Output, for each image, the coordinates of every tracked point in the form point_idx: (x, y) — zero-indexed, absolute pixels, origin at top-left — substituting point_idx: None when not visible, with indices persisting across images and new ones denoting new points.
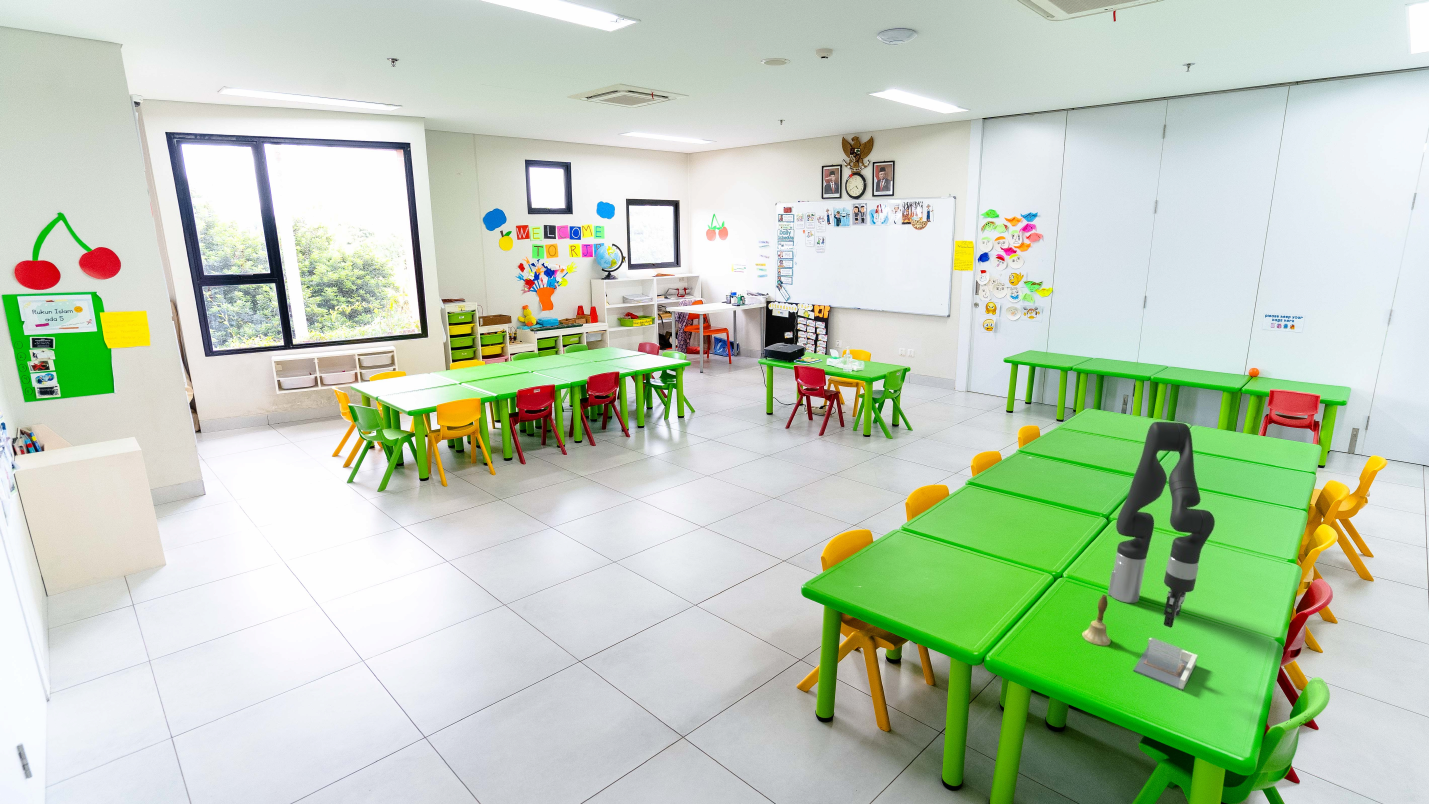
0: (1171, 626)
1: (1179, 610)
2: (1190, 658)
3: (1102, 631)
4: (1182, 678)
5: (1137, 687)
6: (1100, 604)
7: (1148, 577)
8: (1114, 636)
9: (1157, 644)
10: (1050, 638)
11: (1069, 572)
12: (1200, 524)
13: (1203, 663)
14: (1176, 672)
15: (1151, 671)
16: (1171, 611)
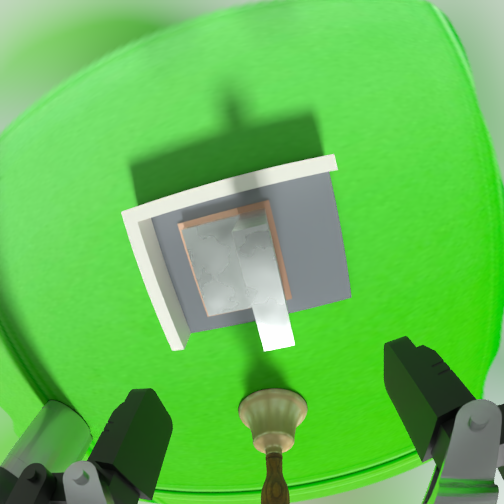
0: (407, 342)
1: (133, 424)
2: (144, 222)
3: (284, 425)
4: (327, 165)
5: (414, 246)
6: (289, 501)
7: (3, 396)
8: (220, 396)
9: (288, 315)
10: (360, 437)
11: None
12: None
13: (110, 198)
14: (264, 208)
15: (315, 262)
16: (168, 434)
